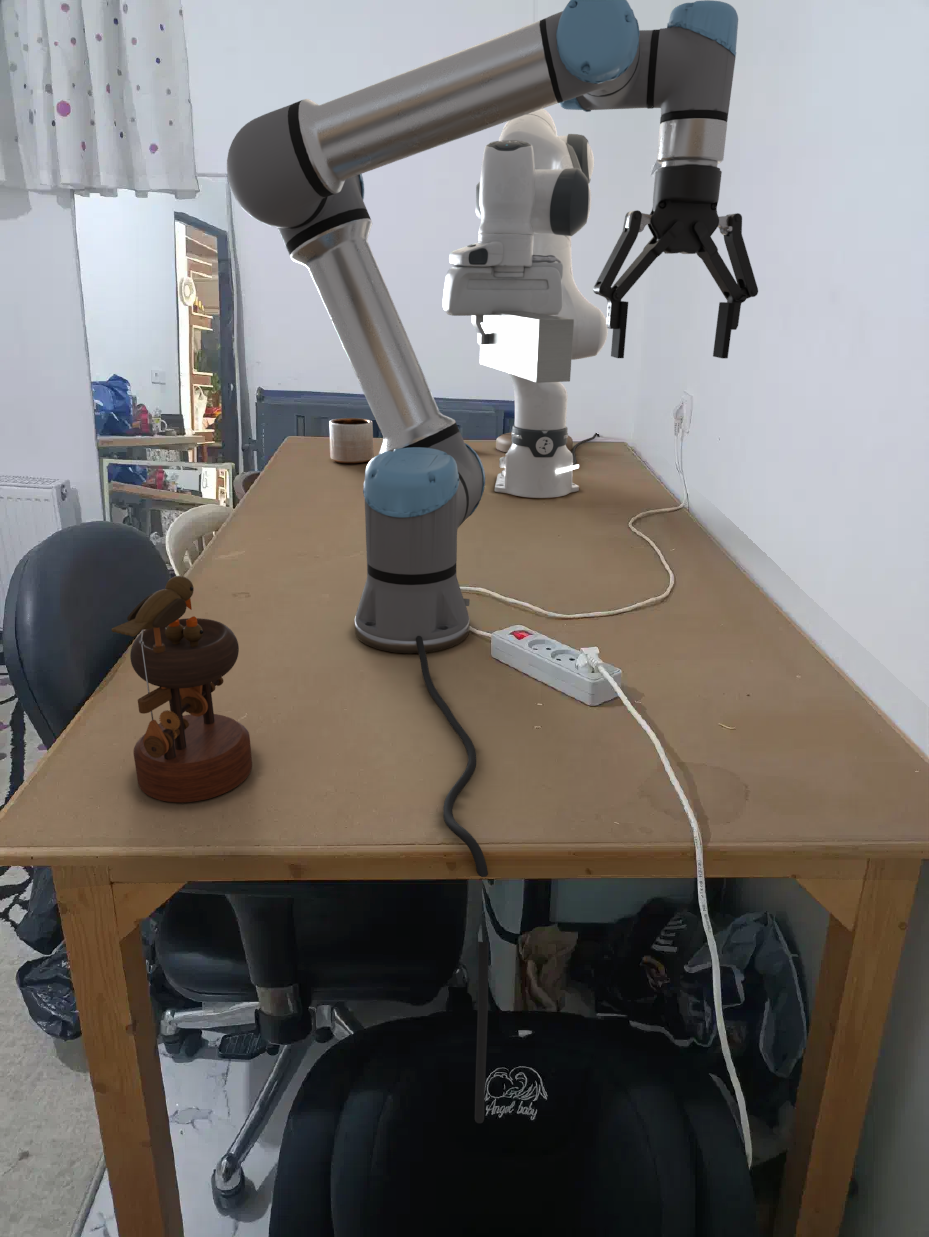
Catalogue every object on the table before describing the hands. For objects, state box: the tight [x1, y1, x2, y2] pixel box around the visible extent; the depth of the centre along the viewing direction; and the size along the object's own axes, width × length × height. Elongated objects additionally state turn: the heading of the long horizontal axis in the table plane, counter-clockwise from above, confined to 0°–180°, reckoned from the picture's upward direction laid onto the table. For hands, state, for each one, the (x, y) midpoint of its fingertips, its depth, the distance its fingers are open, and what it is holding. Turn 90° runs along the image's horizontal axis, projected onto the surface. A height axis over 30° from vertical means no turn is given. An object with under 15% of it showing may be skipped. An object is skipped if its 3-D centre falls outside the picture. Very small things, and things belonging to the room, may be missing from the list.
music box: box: [111, 575, 253, 803], centre depth 78 cm, size 15×11×20 cm
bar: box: [479, 311, 574, 383], centre depth 134 cm, size 23×6×9 cm, turn 20°
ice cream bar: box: [495, 431, 574, 453], centre depth 224 cm, size 21×28×4 cm
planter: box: [328, 417, 375, 464], centre depth 212 cm, size 11×11×10 cm
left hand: (669, 357), depth 106 cm, fingers open, 13 cm apart
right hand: (502, 344), depth 142 cm, fingers closed on bar, 5 cm apart
